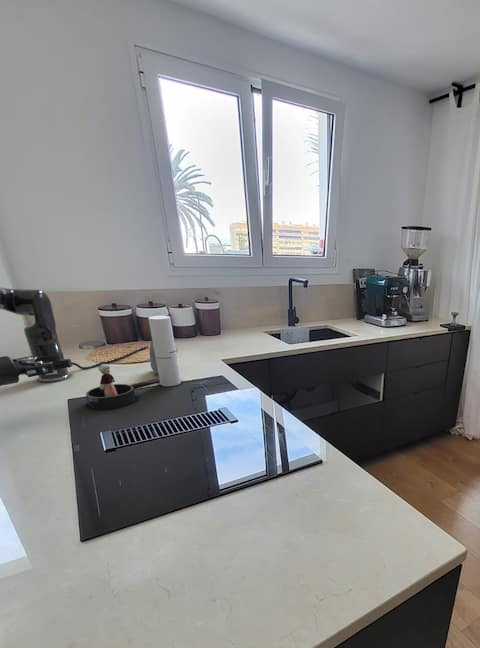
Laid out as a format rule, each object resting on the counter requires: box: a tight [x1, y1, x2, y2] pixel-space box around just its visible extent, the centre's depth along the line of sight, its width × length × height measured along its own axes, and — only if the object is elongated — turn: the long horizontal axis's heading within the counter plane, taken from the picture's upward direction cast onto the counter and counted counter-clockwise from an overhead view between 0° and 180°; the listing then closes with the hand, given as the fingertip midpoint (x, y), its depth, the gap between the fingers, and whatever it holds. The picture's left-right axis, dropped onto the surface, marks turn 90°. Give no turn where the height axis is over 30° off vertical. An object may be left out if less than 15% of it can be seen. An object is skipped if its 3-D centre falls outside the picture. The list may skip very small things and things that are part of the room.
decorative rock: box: [149, 340, 159, 376], centre depth 159 cm, size 16×7×15 cm, turn 36°
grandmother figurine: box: [97, 363, 118, 397], centre depth 130 cm, size 8×4×13 cm, turn 13°
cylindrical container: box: [147, 315, 182, 387], centre depth 146 cm, size 7×7×25 cm
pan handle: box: [129, 377, 160, 390], centre depth 140 cm, size 11×2×2 cm, turn 145°
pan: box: [85, 383, 136, 410], centre depth 132 cm, size 14×14×4 cm
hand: (61, 360), depth 117 cm, fingers open, 8 cm apart
